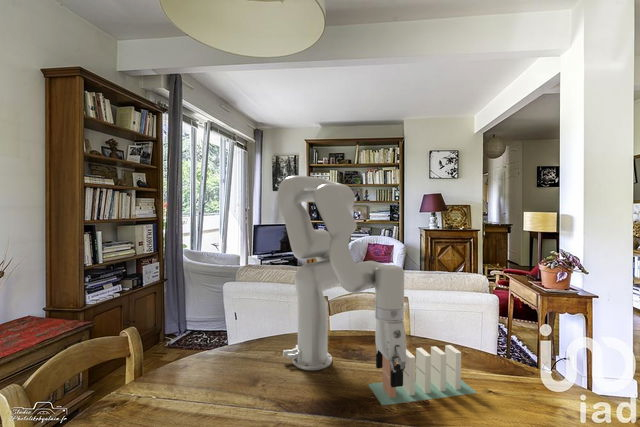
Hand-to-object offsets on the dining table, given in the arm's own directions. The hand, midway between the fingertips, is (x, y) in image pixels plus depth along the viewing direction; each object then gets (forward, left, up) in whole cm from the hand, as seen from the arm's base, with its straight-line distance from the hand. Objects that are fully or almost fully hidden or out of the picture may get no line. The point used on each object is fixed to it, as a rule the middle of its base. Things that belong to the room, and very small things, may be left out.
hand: (388, 376), depth 88 cm
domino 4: (+19, 0, -4) cm, 19 cm away
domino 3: (+14, 0, -4) cm, 15 cm away
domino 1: (+6, 0, -4) cm, 7 cm away
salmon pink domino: (0, 0, -4) cm, 4 cm away
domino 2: (+10, 0, -4) cm, 11 cm away
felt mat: (+10, 0, -5) cm, 11 cm away
